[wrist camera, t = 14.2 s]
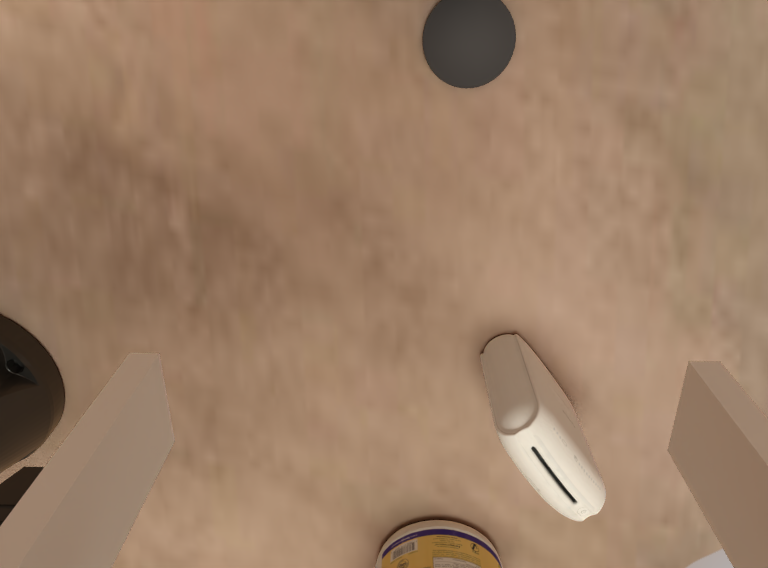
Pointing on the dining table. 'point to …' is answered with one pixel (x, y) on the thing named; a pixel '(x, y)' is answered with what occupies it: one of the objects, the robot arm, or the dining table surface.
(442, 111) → the dining table surface
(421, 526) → the supplement tub
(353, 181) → the dining table surface
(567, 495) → the photo printer
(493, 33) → the lens cap
